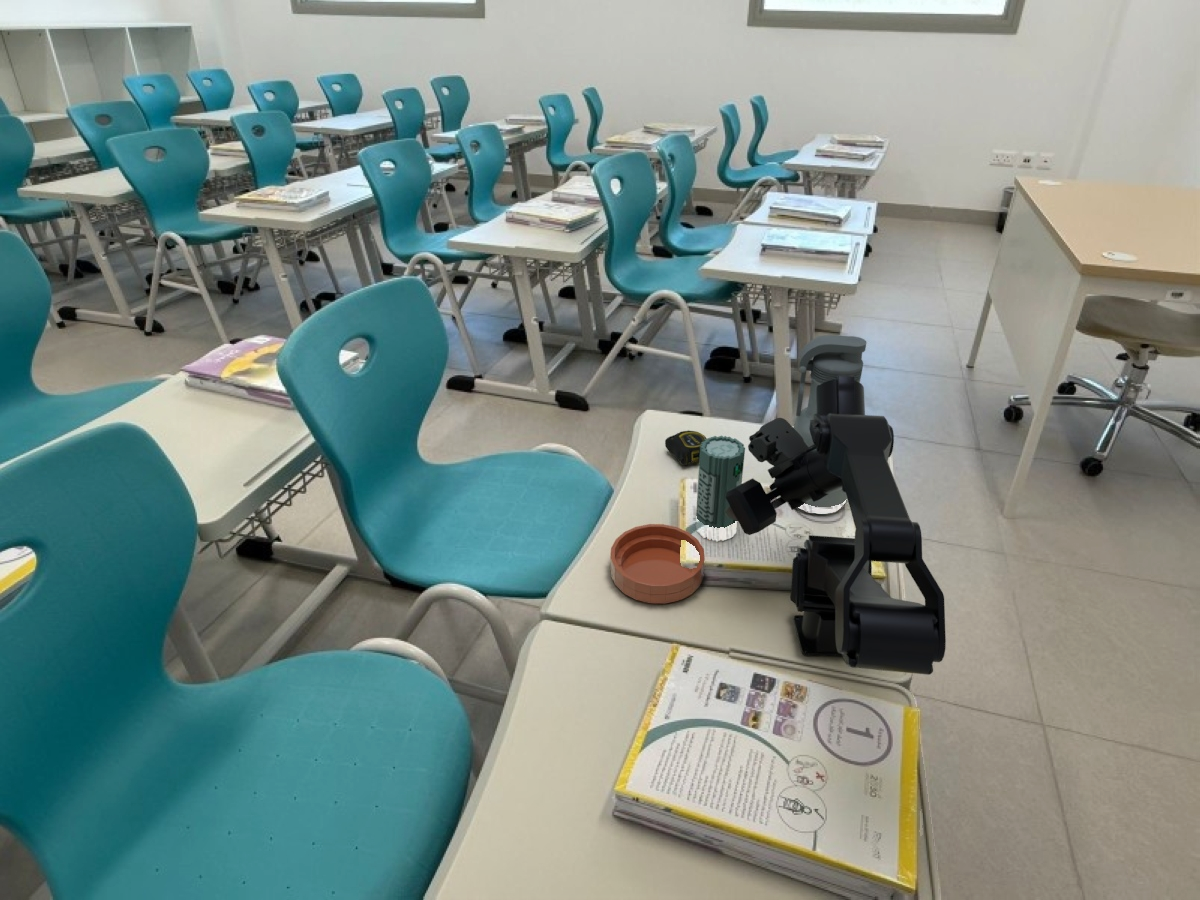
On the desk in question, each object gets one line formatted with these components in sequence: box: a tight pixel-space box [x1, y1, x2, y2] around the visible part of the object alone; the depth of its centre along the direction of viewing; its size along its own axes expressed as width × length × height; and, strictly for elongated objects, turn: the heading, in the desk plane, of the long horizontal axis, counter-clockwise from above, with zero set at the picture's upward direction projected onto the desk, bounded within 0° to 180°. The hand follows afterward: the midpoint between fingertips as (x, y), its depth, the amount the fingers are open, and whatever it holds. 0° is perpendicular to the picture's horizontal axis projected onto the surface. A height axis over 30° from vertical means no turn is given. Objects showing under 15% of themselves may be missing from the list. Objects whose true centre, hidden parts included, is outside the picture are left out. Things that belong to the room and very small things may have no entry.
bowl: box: [610, 523, 706, 604], centre depth 103 cm, size 13×13×4 cm
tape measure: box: [664, 430, 707, 467], centre depth 128 cm, size 7×7×4 cm
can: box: [695, 435, 746, 528], centre depth 108 cm, size 6×6×15 cm
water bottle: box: [793, 334, 868, 507], centre depth 110 cm, size 10×10×28 cm
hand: (749, 501), depth 102 cm, fingers open, 9 cm apart
